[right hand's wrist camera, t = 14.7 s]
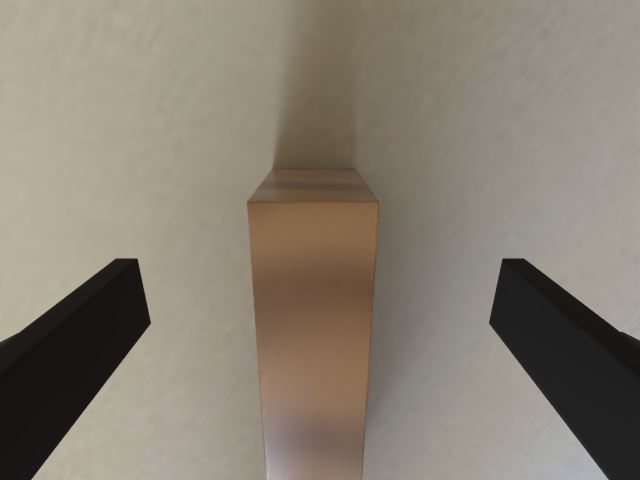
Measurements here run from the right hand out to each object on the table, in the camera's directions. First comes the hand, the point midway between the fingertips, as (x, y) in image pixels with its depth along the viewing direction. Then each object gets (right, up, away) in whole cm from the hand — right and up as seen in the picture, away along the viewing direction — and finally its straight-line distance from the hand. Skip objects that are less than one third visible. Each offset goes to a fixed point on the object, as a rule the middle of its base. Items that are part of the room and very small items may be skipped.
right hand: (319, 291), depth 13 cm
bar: (0, -6, +15) cm, 16 cm away
